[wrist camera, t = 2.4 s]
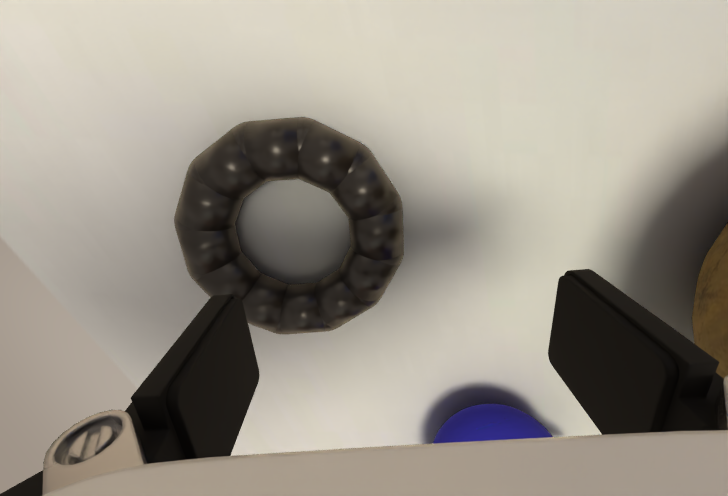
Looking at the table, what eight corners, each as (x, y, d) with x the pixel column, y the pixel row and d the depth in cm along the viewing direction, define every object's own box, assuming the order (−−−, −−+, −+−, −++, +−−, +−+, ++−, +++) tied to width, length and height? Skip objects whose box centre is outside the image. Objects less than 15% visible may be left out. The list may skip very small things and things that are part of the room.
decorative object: (619, 571, 21) (452, 574, 23) (577, 477, 27) (444, 486, 29) (609, 446, 18) (414, 462, 20) (563, 366, 23) (414, 386, 25)
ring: (219, 321, 22) (200, 350, 20) (166, 128, 18) (133, 131, 15) (403, 308, 22) (409, 335, 19) (395, 108, 18) (401, 109, 15)
